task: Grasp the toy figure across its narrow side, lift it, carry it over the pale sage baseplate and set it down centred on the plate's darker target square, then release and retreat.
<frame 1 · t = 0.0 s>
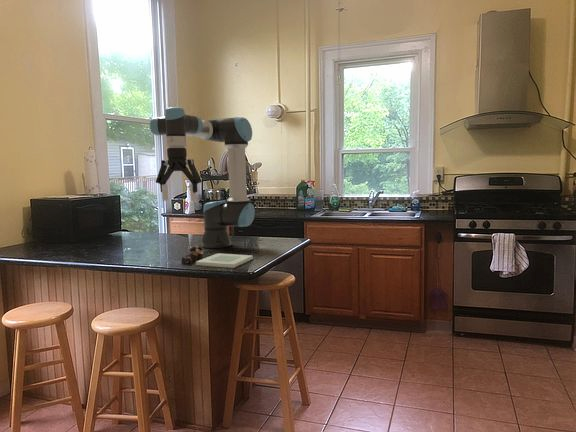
hand: (179, 200, 183), 28 cm above the table, fingers open, 13 cm apart
baseplate: (225, 261, 197), on the table
toy: (194, 261, 202), on the table
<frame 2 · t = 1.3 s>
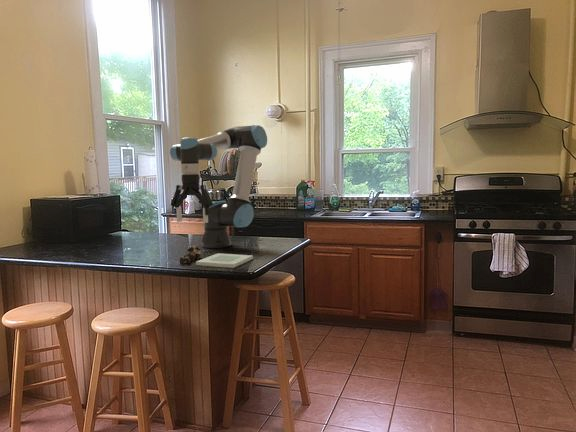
hand: (192, 222, 200), 17 cm above the table, fingers open, 13 cm apart
toy: (191, 261, 202), on the table
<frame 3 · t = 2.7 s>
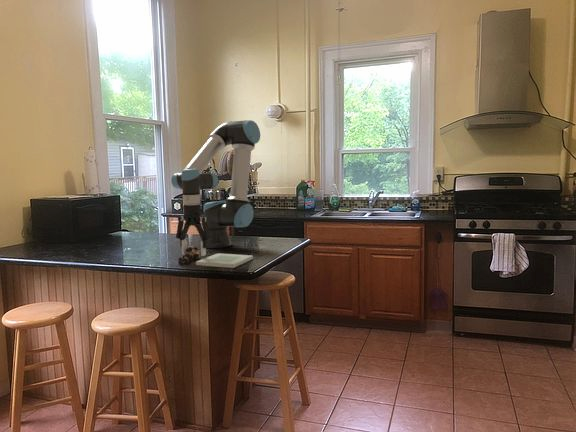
hand: (194, 254, 202), 3 cm above the table, fingers open, 9 cm apart
toy: (190, 261, 202), on the table, touching gripper
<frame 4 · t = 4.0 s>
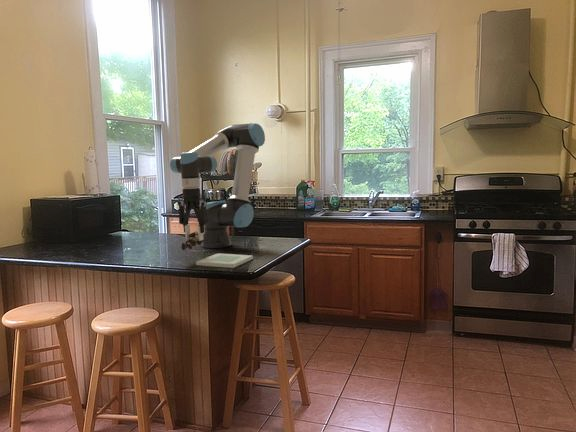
hand: (194, 239, 202), 9 cm above the table, fingers closed on toy, 6 cm apart
toy: (194, 247, 201), point 6 cm above the table, touching gripper
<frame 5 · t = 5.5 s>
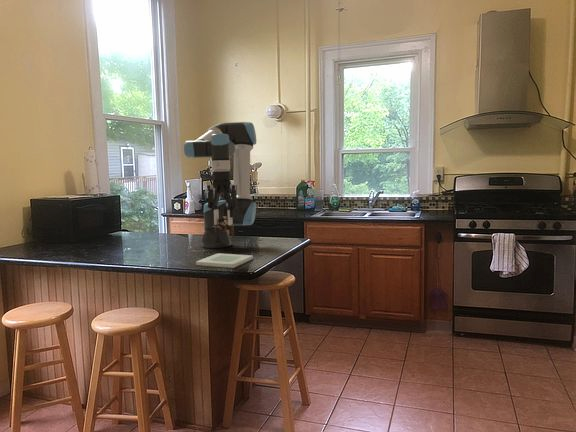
hand: (223, 224, 195), 16 cm above the table, fingers closed on toy, 6 cm apart
toy: (222, 232, 195), point 13 cm above the table, touching gripper
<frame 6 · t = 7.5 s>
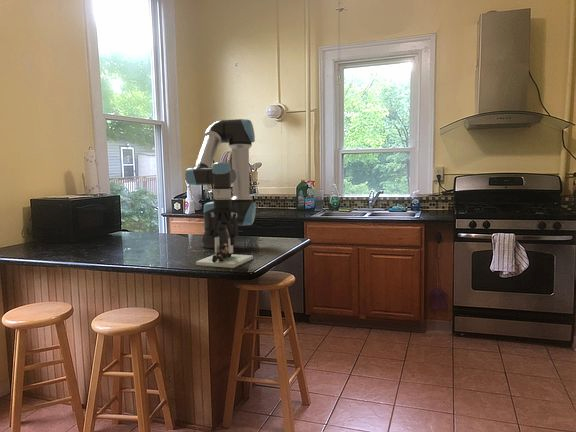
hand: (224, 252, 196), 4 cm above the table, fingers closed on toy, 6 cm apart
toy: (223, 259, 196), point 1 cm above the table, touching baseplate, gripper
when the fingers open (4 cm above the table, at t = 7.6 s): toy stays where it is, resting on baseplate.
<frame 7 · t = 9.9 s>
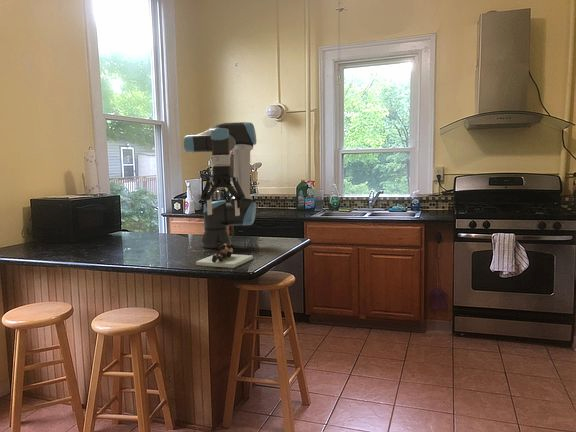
hand: (223, 215, 195), 20 cm above the table, fingers open, 13 cm apart
toy: (223, 259, 196), point 1 cm above the table, touching baseplate
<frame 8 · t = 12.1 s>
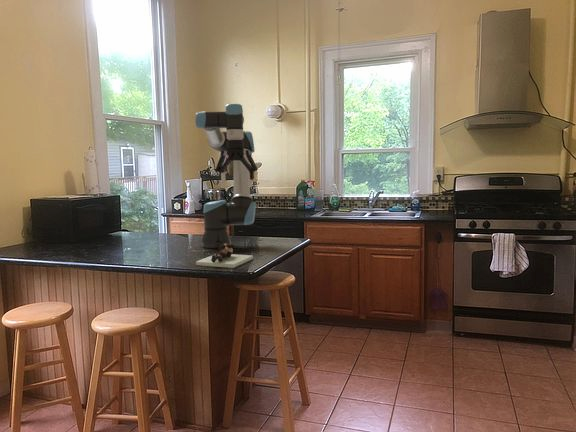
hand: (236, 187, 206), 32 cm above the table, fingers open, 13 cm apart
nothing on the table moved.
at the end: toy inside the target area on the baseplate (1.5 cm from its centre), point 1.4 cm above the baseplate's base; toy tilted 1°; toy touching baseplate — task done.
